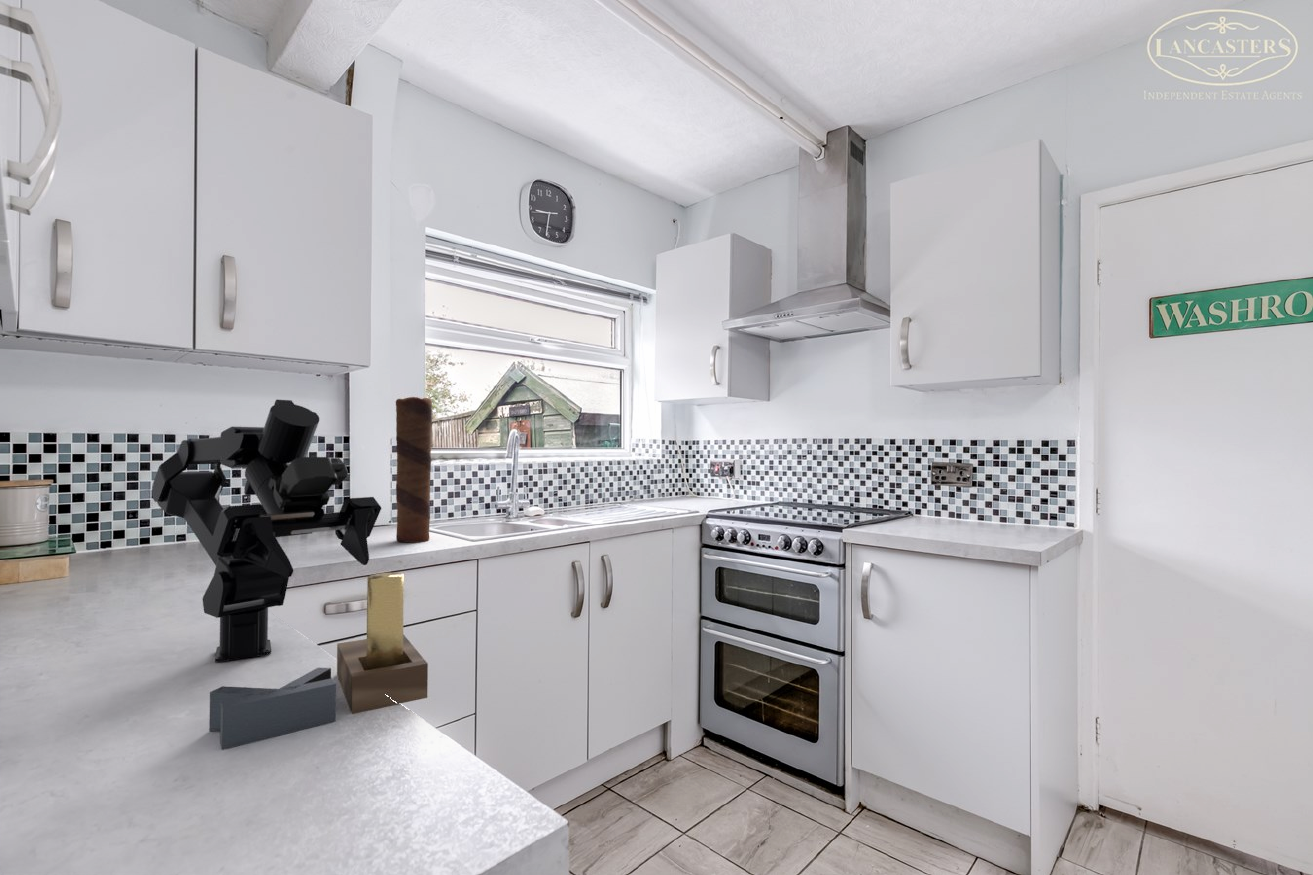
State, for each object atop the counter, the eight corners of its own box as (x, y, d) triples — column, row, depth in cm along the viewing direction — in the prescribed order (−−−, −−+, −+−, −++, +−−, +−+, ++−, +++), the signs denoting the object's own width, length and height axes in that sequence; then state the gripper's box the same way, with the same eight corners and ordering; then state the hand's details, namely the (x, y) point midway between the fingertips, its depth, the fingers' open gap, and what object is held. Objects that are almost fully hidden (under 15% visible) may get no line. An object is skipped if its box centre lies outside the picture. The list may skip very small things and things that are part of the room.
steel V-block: (208, 727, 65) (209, 688, 65) (328, 699, 72) (328, 665, 72) (213, 751, 60) (214, 709, 60) (342, 719, 67) (342, 682, 67)
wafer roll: (416, 544, 189) (418, 396, 190) (388, 542, 192) (389, 396, 193) (438, 539, 199) (439, 398, 200) (410, 537, 202) (412, 399, 203)
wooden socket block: (336, 674, 80) (337, 643, 80) (402, 663, 85) (402, 633, 85) (352, 713, 69) (352, 676, 69) (427, 697, 73) (427, 663, 73)
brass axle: (363, 691, 75) (364, 574, 75) (398, 685, 77) (400, 571, 77) (368, 703, 71) (370, 580, 72) (405, 695, 74) (407, 577, 74)
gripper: (216, 438, 73) (265, 523, 65) (368, 440, 88) (422, 509, 81) (193, 513, 76) (237, 602, 69) (343, 502, 92) (392, 574, 84)
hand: (330, 567), depth 75 cm, fingers open, 9 cm apart
